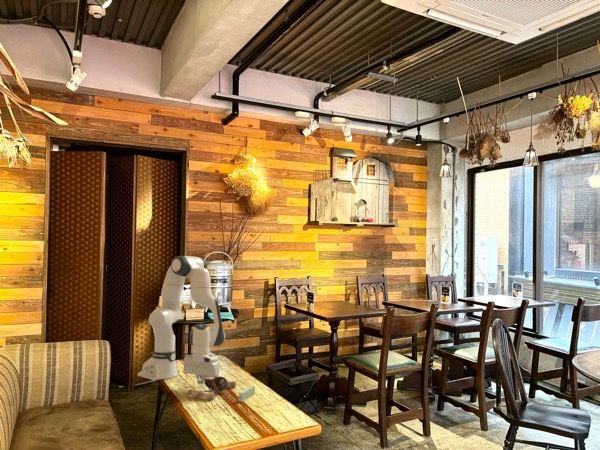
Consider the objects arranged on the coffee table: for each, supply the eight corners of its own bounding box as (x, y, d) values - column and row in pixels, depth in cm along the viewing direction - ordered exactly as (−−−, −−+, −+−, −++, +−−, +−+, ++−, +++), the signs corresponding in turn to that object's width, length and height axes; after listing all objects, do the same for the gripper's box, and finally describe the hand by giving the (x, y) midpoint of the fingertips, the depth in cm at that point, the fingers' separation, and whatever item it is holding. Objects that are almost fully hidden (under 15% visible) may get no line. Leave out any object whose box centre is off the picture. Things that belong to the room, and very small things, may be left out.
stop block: (238, 401, 217) (238, 392, 217) (251, 393, 228) (251, 385, 228) (242, 401, 216) (242, 393, 216) (254, 394, 227) (254, 386, 227)
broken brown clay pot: (227, 388, 237) (230, 376, 234) (223, 402, 229) (226, 390, 225) (205, 382, 237) (207, 371, 233) (200, 396, 228) (202, 384, 225)
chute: (187, 396, 223) (187, 390, 223) (213, 383, 243) (213, 377, 243) (211, 400, 217) (211, 394, 217) (235, 387, 238) (236, 381, 238)
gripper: (180, 355, 235) (180, 382, 235) (214, 360, 227) (213, 388, 226) (188, 352, 241) (188, 379, 240) (221, 357, 232) (220, 384, 232)
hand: (200, 383), depth 233 cm, fingers closed
